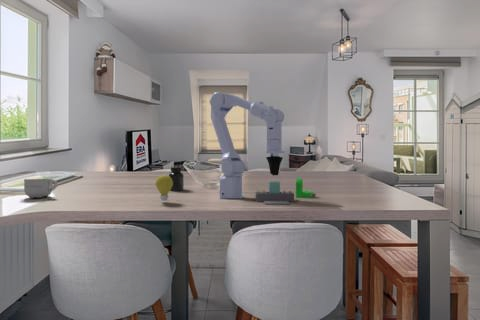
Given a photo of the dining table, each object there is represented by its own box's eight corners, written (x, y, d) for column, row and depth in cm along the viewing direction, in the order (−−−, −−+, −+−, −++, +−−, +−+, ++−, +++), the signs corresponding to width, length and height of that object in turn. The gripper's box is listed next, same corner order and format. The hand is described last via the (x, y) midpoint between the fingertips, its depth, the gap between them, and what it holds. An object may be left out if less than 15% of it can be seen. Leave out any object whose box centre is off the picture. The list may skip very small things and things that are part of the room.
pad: (264, 204, 141) (264, 203, 141) (263, 201, 149) (263, 200, 149) (289, 204, 141) (289, 203, 141) (287, 201, 149) (287, 200, 149)
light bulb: (158, 201, 150) (158, 175, 150) (153, 199, 156) (153, 174, 156) (175, 200, 153) (175, 175, 153) (169, 199, 159) (169, 174, 159)
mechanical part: (310, 198, 162) (310, 178, 162) (295, 197, 164) (295, 178, 164) (313, 195, 174) (313, 177, 174) (300, 195, 176) (300, 177, 176)
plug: (269, 201, 151) (269, 180, 151) (268, 199, 156) (268, 179, 156) (280, 201, 151) (280, 180, 151) (279, 199, 156) (279, 179, 156)
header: (256, 201, 150) (256, 191, 150) (255, 199, 157) (255, 189, 157) (294, 201, 150) (294, 191, 150) (291, 199, 157) (291, 189, 157)
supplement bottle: (181, 192, 188) (181, 166, 188) (185, 193, 182) (185, 167, 182) (167, 192, 185) (167, 167, 185) (171, 193, 179) (170, 167, 179)
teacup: (18, 198, 163) (17, 178, 163) (40, 195, 173) (40, 177, 173) (42, 199, 158) (42, 179, 158) (64, 196, 168) (64, 178, 168)
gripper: (286, 139, 146) (286, 175, 146) (282, 140, 161) (282, 173, 161) (267, 139, 146) (267, 175, 146) (265, 140, 160) (265, 173, 161)
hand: (274, 174), depth 153 cm, fingers open, 7 cm apart
